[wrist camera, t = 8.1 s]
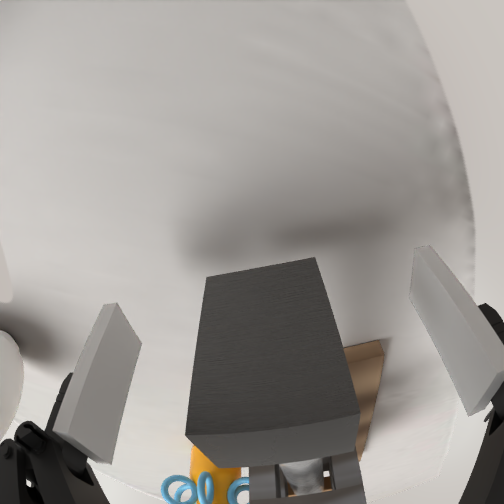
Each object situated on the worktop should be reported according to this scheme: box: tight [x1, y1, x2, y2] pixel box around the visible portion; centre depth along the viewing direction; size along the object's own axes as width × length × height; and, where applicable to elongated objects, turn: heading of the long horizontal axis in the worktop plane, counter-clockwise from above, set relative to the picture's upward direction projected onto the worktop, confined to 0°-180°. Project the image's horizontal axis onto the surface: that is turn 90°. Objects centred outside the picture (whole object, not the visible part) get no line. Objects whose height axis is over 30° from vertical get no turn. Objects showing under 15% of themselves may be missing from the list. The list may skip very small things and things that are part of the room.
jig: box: [249, 340, 384, 504], centre depth 24 cm, size 26×14×12 cm, turn 12°
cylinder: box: [161, 445, 249, 504], centre depth 26 cm, size 12×10×15 cm
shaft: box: [185, 257, 361, 496], centre depth 16 cm, size 22×4×7 cm, turn 12°
